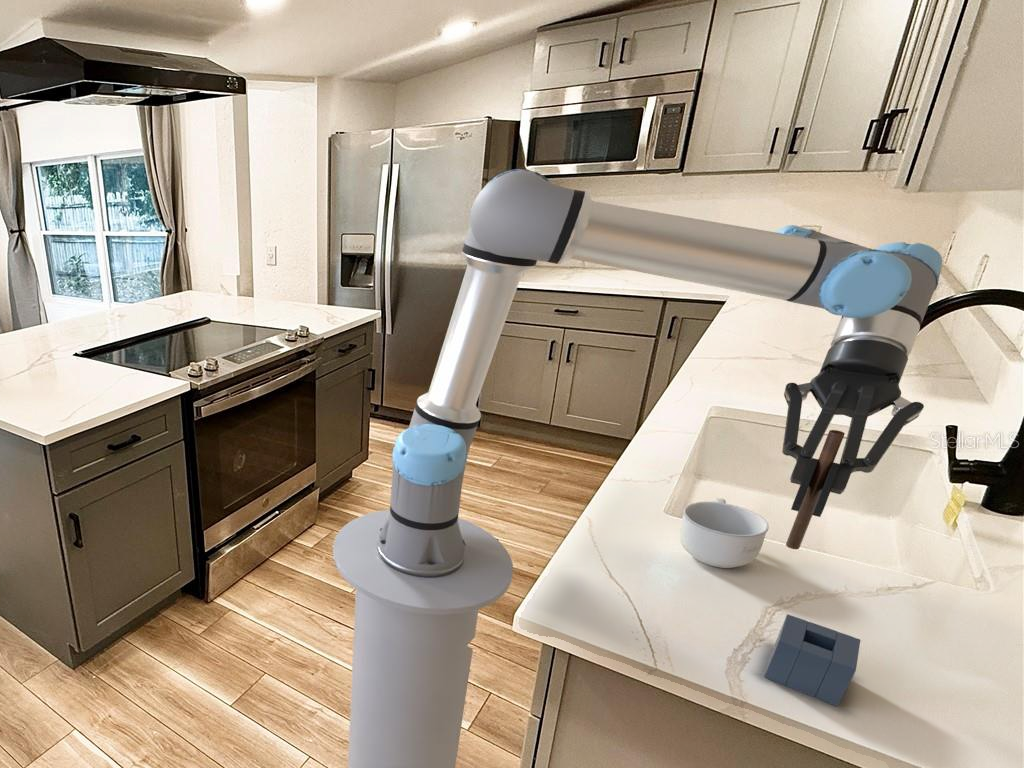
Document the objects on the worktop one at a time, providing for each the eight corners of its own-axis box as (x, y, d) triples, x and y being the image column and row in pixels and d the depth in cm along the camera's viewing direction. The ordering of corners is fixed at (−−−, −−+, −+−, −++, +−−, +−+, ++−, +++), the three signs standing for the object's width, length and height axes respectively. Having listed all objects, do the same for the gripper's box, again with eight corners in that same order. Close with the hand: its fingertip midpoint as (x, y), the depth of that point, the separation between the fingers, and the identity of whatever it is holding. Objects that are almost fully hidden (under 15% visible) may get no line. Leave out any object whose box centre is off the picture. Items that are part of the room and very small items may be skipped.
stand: (764, 677, 79) (778, 641, 77) (772, 648, 83) (787, 613, 81) (837, 707, 74) (856, 670, 72) (843, 675, 79) (860, 639, 76)
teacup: (750, 585, 95) (766, 542, 92) (667, 560, 102) (679, 519, 99) (758, 545, 105) (773, 505, 101) (681, 524, 111) (693, 486, 108)
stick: (784, 546, 83) (828, 432, 76) (786, 542, 84) (830, 428, 77) (798, 550, 82) (844, 435, 75) (799, 546, 83) (845, 431, 76)
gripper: (940, 377, 78) (880, 540, 75) (792, 357, 88) (734, 501, 85) (958, 346, 73) (895, 520, 70) (799, 329, 83) (737, 481, 79)
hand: (806, 509), depth 77 cm, fingers closed on stick
